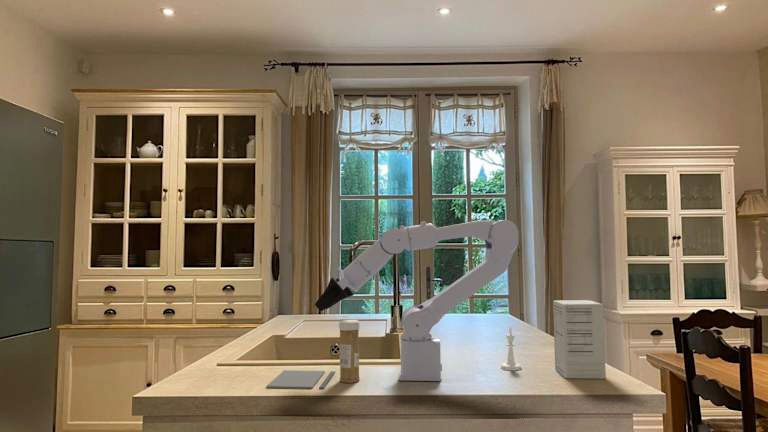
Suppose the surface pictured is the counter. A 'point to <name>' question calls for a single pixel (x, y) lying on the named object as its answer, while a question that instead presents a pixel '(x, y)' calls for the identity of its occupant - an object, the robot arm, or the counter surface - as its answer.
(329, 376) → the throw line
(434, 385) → the counter surface
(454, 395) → the counter surface
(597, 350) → the supplement box
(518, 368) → the chess piece
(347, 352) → the sprinkles bottle
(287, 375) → the mat
